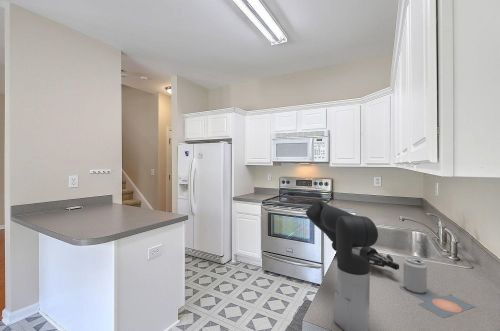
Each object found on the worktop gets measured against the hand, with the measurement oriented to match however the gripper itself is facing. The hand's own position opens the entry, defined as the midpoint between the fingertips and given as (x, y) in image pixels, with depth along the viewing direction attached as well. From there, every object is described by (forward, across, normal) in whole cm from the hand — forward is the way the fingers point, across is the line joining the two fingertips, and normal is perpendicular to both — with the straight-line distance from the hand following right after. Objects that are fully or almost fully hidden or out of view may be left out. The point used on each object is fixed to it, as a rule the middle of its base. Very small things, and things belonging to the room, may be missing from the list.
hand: (397, 267), depth 98 cm
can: (+7, 0, +6) cm, 9 cm away
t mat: (+13, 0, +6) cm, 14 cm away
